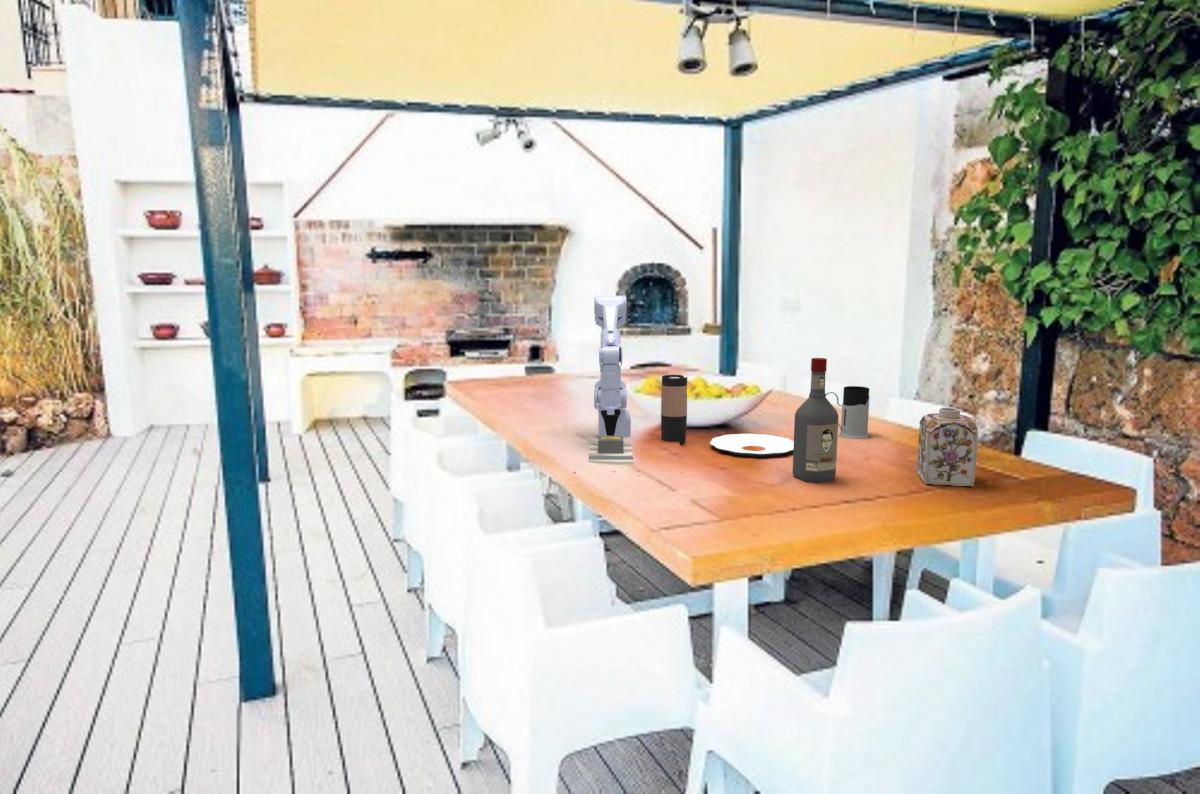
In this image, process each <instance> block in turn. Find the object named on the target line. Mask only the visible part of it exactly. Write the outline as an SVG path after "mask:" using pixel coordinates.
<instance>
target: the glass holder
mask: <svg viewBox="0 0 1200 794" xmlns="http://www.w3.org/2000/svg"><path fill="white" fill-rule="evenodd" d="M825 394H826V396H828V395H829V394H834V396H835V397H836V404H837V406H839V407H842V408H841V423H840V424H839V423H838V427H839V429H840V433H838V436H839V437H841V438H843V439H844V438H845V439H850V440H865V439H868V438H869V437H870V436H869V433H868V430H869V429H868V428H869V413H870V412H869V411H870V388H869V387H866V386H858V385H857V386H856V385H849V386H848V385H847V386H844V387H843V393H842V394H843V395H842V396H843V397H842V404H839V396H838V394H837V393H835V392H834V391H829V392H826V393H825Z"/></svg>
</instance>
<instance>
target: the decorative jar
mask: <svg viewBox="0 0 1200 794" xmlns="http://www.w3.org/2000/svg"><path fill="white" fill-rule="evenodd" d="M938 410H939V411H938V413H934V412H933V413H927V414H924V415H922V417H921V419H920V421H919V427H918V428H919V429H918V441H917V442H918V443H917V455H916V457H917V458H916V459H917V460H916V462H917V463H916V464H917V465H916V473H917V475H918V476H919V478H920V479H921V480H922V482H923V485H925V484H932V485H931V486H942V485H952V486H951V487H961V486H973V487H974V486H975V481H976V469H977V457H978V440H979V438H978V437H979V431H978V426H977V423H976V420H975V419H974V418H973V417H971V416H967V415H963V414H961V409H959V408H956V407H940V408H939V409H938Z"/></svg>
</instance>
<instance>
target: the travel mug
mask: <svg viewBox="0 0 1200 794" xmlns="http://www.w3.org/2000/svg"><path fill="white" fill-rule="evenodd" d="M660 393H661V396H660V397H661V399H660V400H661V401H660V429H661V430H660V431H661V432H660V435H661V436H660V437H661V441H664V442H668V443H679V446H684V445H685V444H686V443H687V421H688V376H686V377H685V376H684V375H682V374H664V375H662V376H661V392H660ZM683 444H684V445H683Z"/></svg>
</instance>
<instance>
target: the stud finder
mask: <svg viewBox="0 0 1200 794" xmlns="http://www.w3.org/2000/svg"><path fill="white" fill-rule="evenodd" d="M624 441H625V440H624V437H599V436H597V444H598V453H623V444H624V443H625V442H624Z"/></svg>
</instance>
